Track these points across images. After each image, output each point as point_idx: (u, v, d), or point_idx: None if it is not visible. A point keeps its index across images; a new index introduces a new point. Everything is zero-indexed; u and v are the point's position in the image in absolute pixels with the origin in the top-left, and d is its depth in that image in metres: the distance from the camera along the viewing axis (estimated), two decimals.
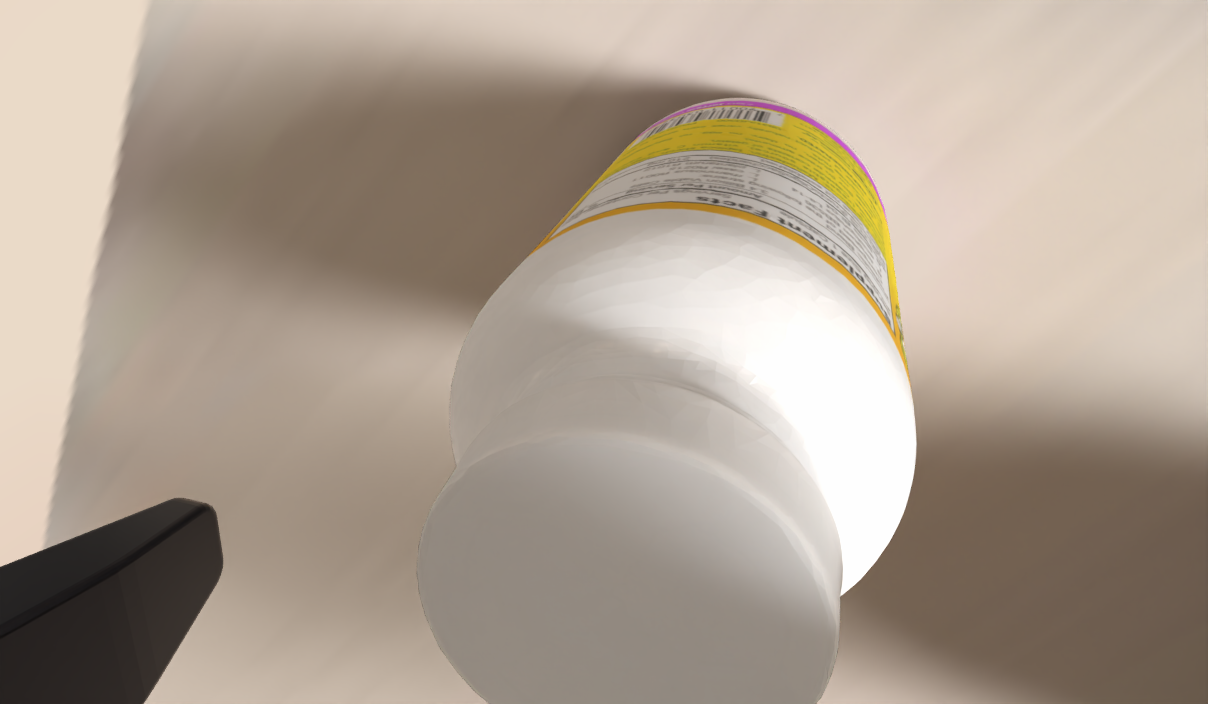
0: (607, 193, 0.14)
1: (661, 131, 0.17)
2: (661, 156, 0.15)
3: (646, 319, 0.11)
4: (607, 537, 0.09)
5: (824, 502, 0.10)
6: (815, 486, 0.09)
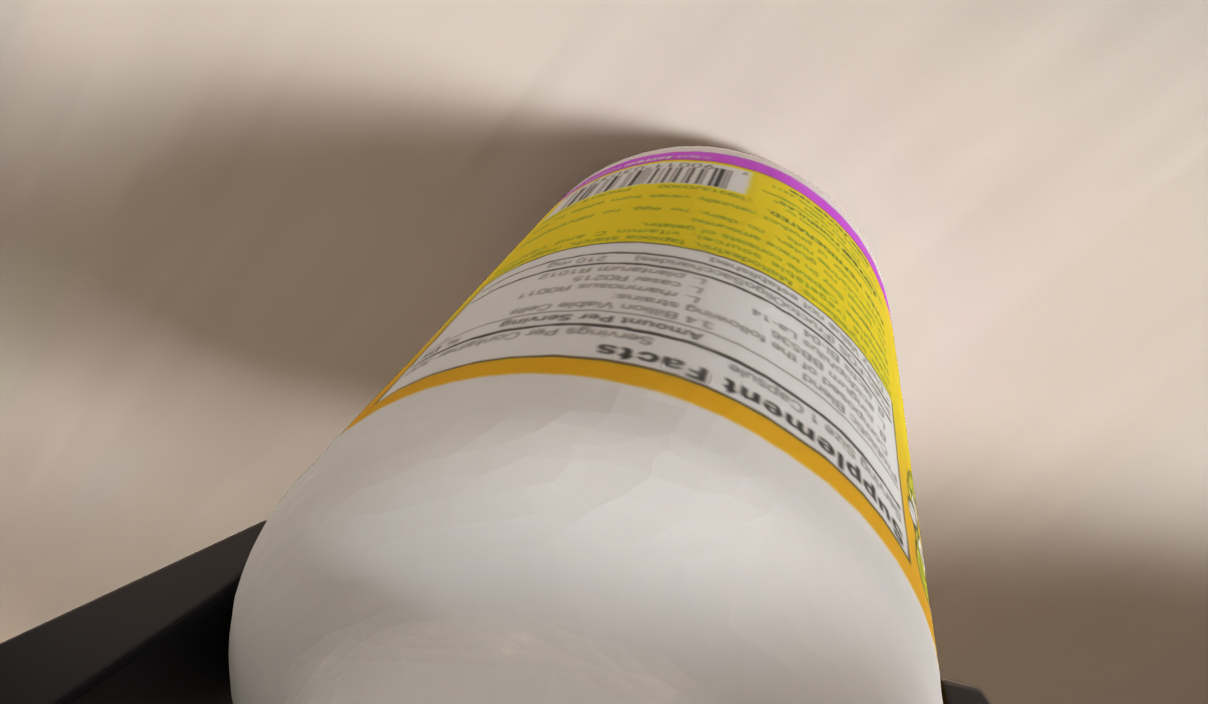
0: (480, 317, 0.09)
1: (585, 198, 0.13)
2: (570, 250, 0.10)
3: (490, 589, 0.06)
4: None
5: None
6: None
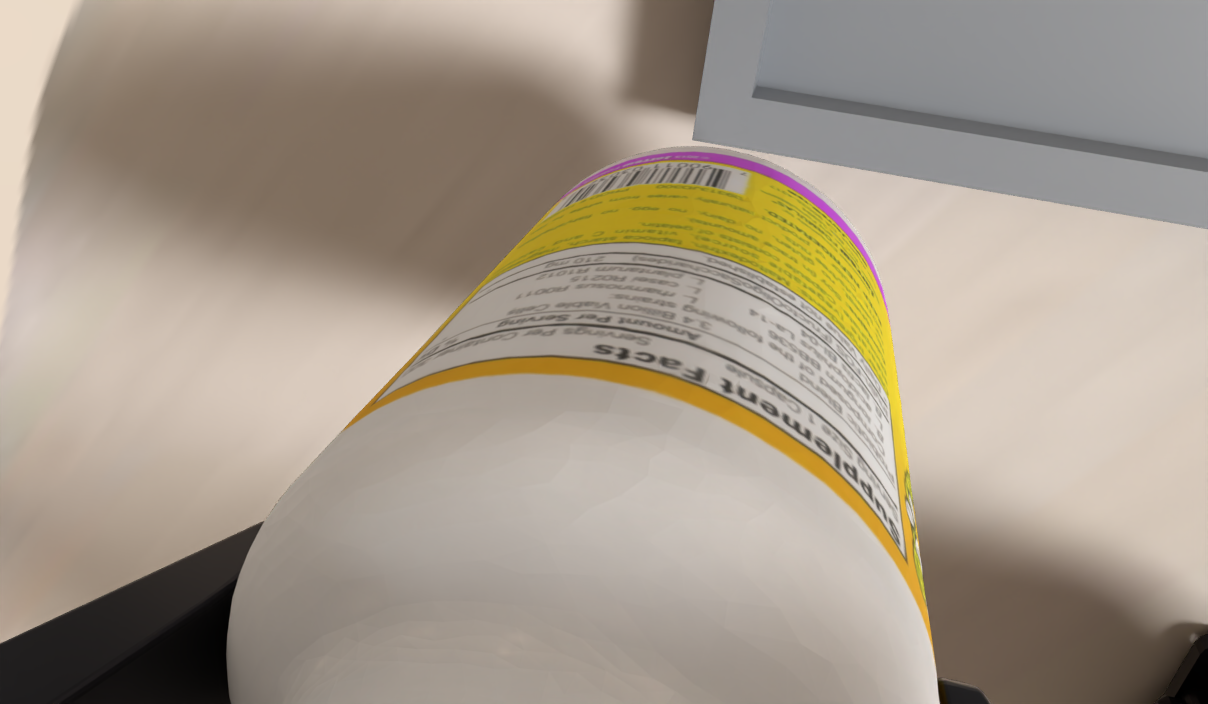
0: (477, 318, 0.09)
1: (583, 199, 0.13)
2: (567, 251, 0.10)
3: (487, 590, 0.06)
4: None
5: None
6: None
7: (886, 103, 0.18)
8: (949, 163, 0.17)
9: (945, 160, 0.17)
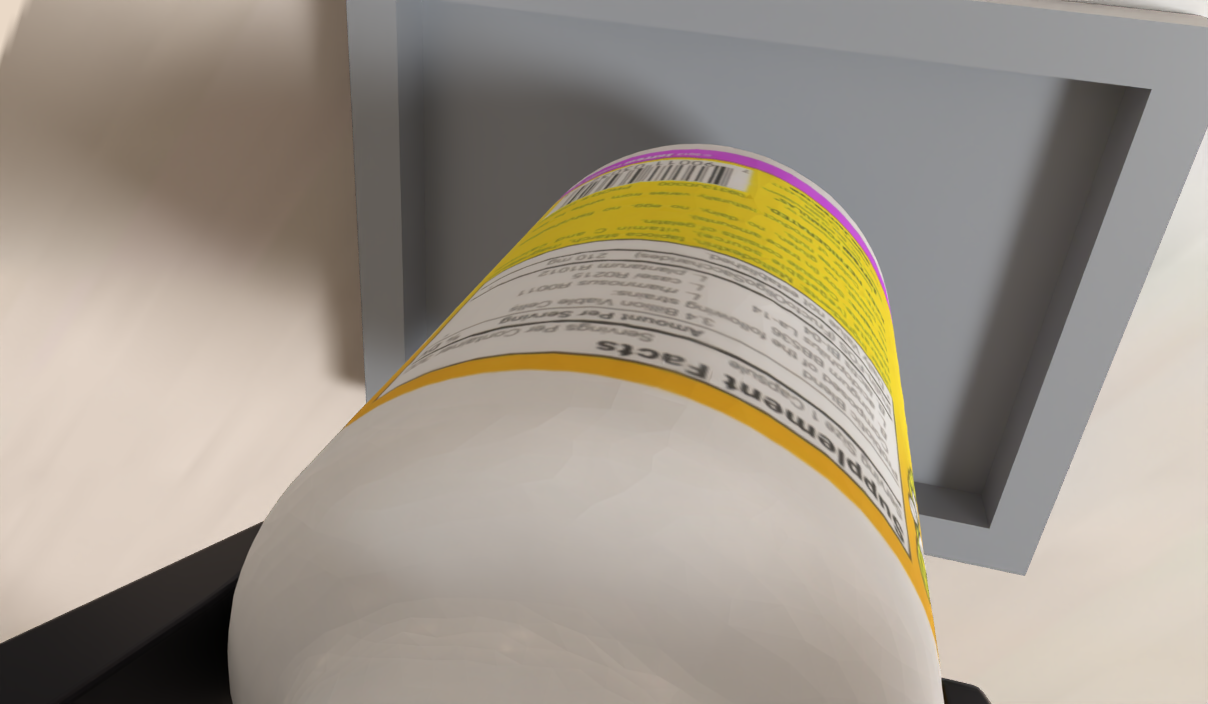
0: (479, 315, 0.09)
1: (585, 196, 0.13)
2: (569, 247, 0.10)
3: (490, 586, 0.06)
4: None
5: None
6: None
7: None
8: None
9: None
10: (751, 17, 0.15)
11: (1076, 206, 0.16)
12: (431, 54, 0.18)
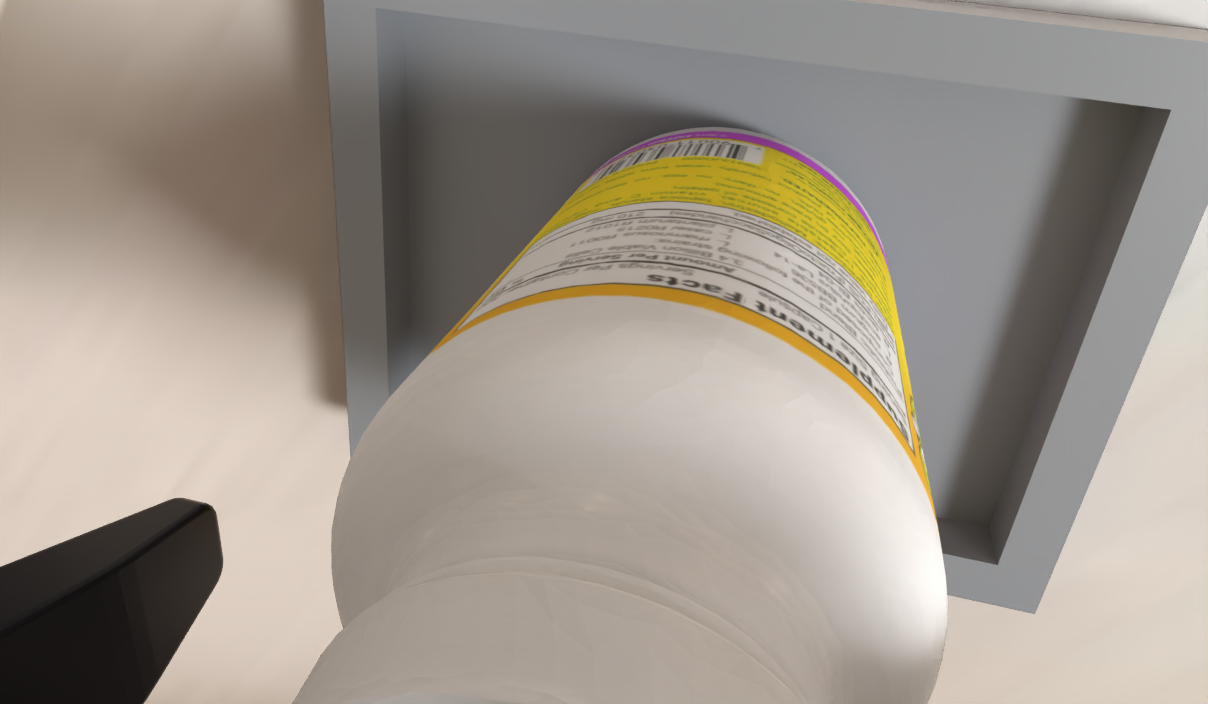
0: (537, 263, 0.11)
1: (615, 172, 0.14)
2: (610, 209, 0.12)
3: (572, 460, 0.08)
4: None
5: None
6: None
7: None
8: None
9: None
10: (748, 32, 0.14)
11: (1089, 230, 0.16)
12: (414, 69, 0.17)
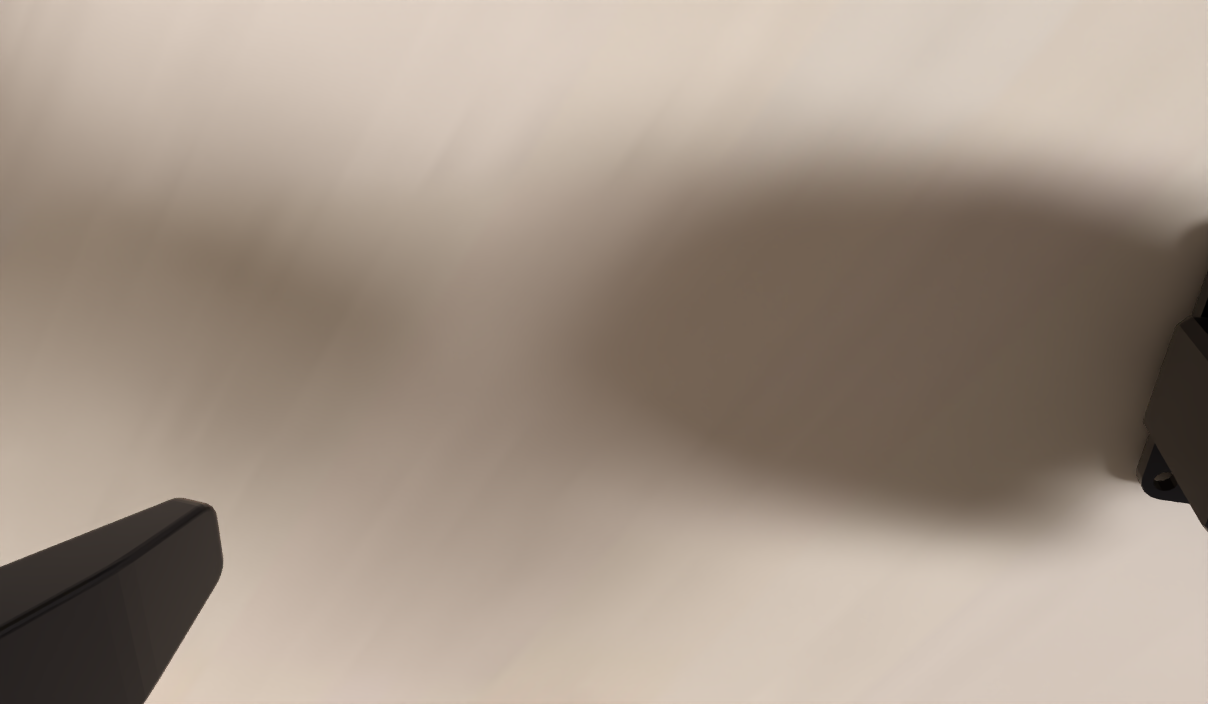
0: None
1: None
2: None
3: None
4: None
5: None
6: None
7: None
8: None
9: None
10: None
11: None
12: None
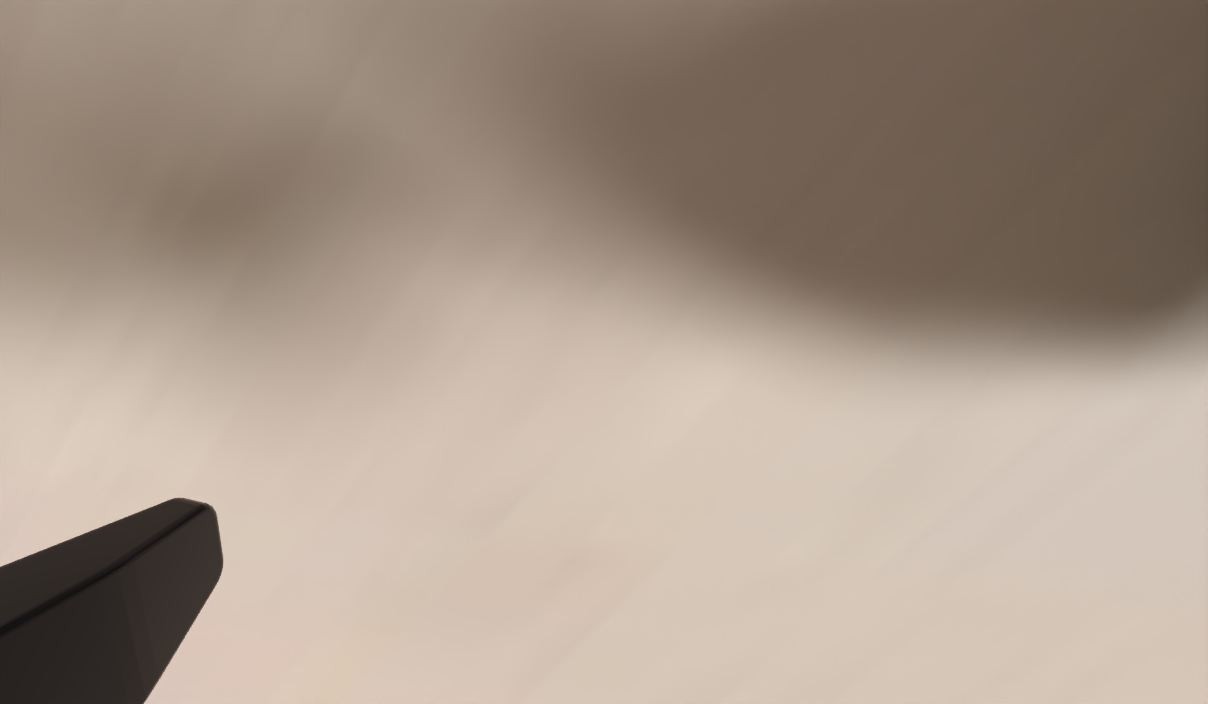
0: None
1: None
2: None
3: None
4: None
5: None
6: None
7: None
8: None
9: None
10: None
11: None
12: None
